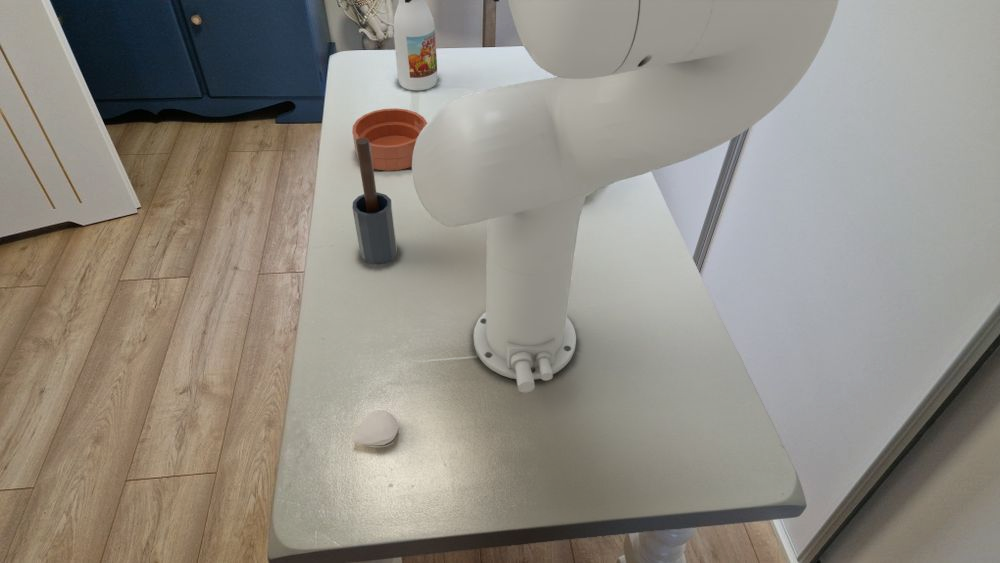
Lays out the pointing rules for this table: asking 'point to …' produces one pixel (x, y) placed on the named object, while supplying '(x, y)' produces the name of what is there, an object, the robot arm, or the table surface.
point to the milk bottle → (415, 45)
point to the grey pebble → (377, 430)
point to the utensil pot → (375, 230)
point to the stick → (367, 175)
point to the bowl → (390, 136)
